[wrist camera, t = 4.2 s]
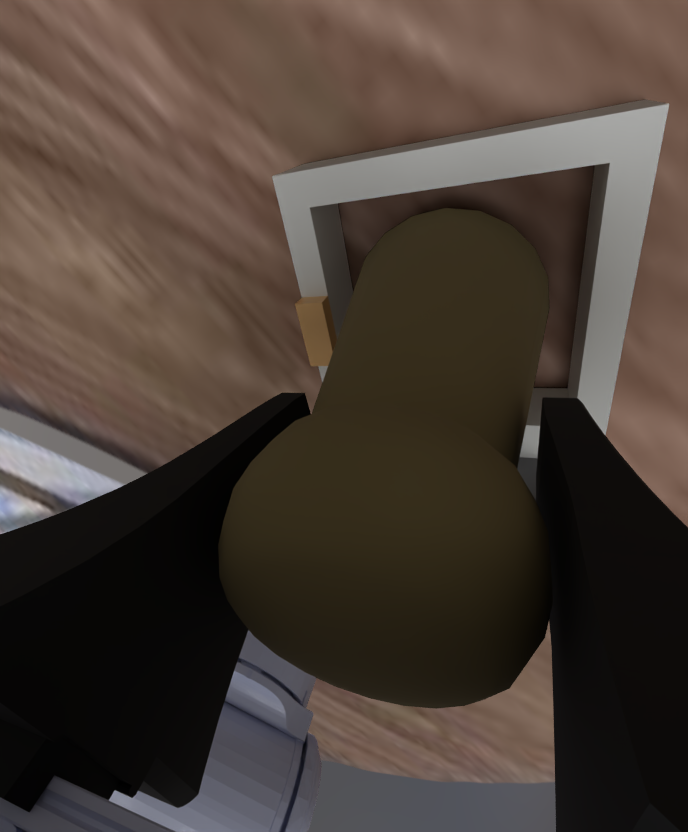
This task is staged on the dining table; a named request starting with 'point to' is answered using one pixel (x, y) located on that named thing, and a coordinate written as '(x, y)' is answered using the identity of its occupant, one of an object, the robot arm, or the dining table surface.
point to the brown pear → (408, 480)
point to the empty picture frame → (484, 161)
